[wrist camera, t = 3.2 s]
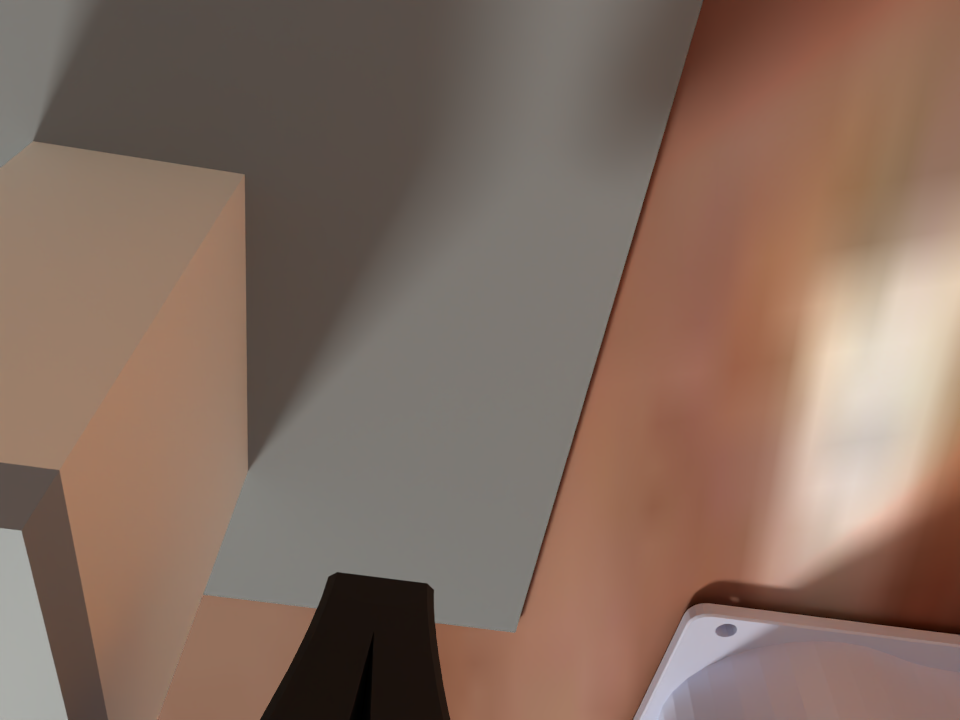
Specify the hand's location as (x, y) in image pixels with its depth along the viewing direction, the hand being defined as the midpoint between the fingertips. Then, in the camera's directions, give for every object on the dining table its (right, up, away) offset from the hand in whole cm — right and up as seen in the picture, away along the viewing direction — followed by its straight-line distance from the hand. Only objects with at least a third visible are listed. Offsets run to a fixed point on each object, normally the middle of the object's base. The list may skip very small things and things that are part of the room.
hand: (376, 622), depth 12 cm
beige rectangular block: (-5, +4, +5) cm, 8 cm away
